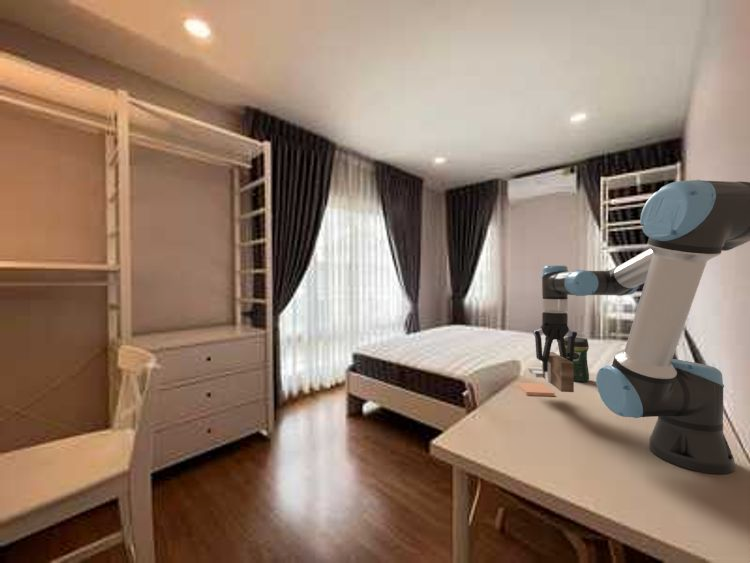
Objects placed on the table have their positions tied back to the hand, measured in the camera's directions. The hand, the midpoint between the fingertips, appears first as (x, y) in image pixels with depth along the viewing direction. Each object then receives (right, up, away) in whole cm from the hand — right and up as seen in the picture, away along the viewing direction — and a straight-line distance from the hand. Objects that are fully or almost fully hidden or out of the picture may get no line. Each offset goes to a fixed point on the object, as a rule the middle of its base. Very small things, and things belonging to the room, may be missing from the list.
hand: (554, 381), depth 114 cm
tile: (+2, -9, +14) cm, 16 cm away
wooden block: (0, 0, +3) cm, 3 cm away
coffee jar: (+28, -10, +35) cm, 46 cm away
